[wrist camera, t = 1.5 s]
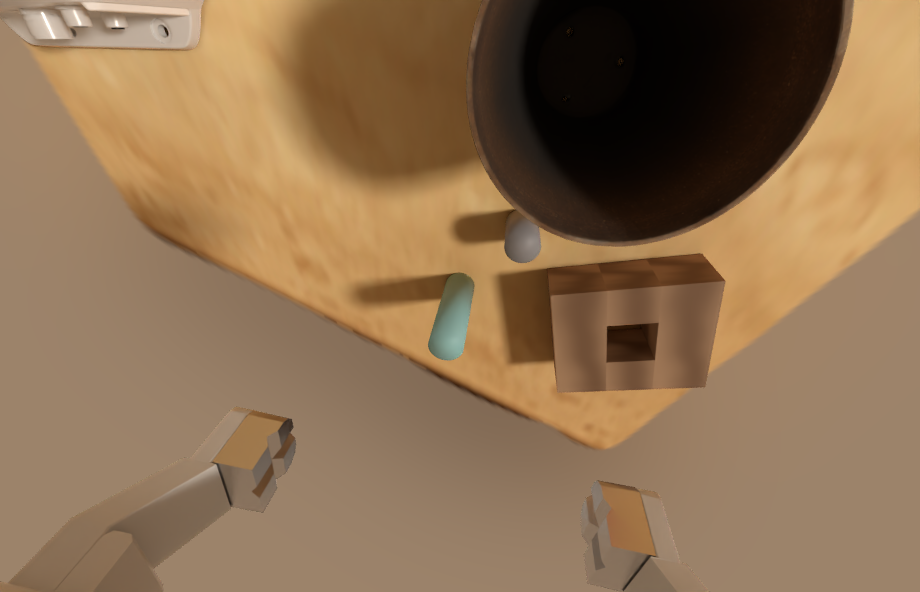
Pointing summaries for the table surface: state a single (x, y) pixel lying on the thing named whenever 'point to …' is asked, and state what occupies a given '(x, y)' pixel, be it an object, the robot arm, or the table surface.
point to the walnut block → (634, 302)
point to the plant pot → (645, 106)
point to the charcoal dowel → (521, 238)
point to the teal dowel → (452, 318)
